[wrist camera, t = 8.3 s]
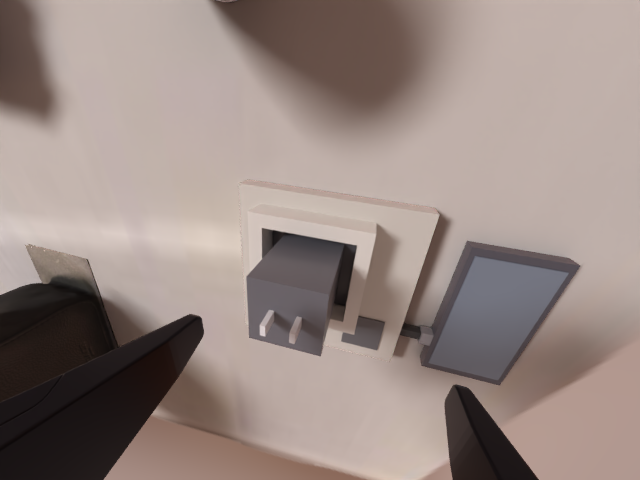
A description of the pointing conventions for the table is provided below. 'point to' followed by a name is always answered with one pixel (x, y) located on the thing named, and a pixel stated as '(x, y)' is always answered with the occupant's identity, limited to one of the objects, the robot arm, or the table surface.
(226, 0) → the cup
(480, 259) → the phone
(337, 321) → the outlet plate
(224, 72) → the table surface
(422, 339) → the black and grey bar
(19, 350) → the shoulder bag
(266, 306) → the charger block
